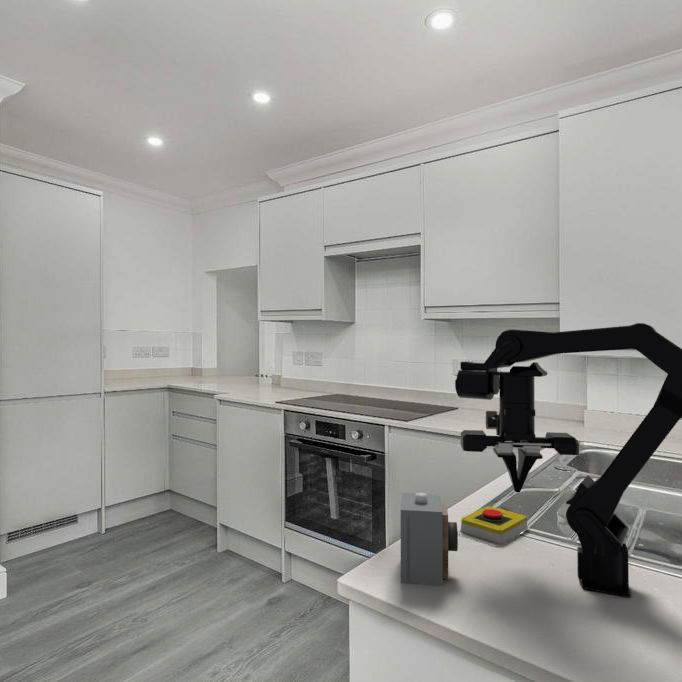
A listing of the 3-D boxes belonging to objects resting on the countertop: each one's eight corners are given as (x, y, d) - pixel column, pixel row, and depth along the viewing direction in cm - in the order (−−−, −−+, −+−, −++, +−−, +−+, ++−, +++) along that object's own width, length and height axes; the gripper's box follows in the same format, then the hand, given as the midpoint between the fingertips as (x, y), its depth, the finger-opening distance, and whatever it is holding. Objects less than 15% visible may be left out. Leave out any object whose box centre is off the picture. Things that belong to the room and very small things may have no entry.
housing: (440, 560, 83) (439, 487, 83) (442, 585, 75) (442, 504, 75) (402, 557, 84) (402, 486, 84) (400, 582, 76) (400, 502, 76)
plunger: (455, 564, 81) (455, 505, 81) (458, 578, 76) (457, 515, 76) (416, 561, 82) (416, 503, 82) (416, 575, 77) (416, 513, 77)
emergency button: (454, 514, 95) (492, 497, 106) (454, 536, 95) (492, 517, 106) (497, 527, 88) (534, 507, 99) (498, 550, 88) (534, 529, 99)
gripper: (560, 397, 90) (560, 481, 90) (457, 396, 93) (458, 476, 93) (579, 405, 79) (580, 500, 79) (463, 402, 82) (463, 494, 82)
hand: (517, 491), depth 83 cm, fingers closed
